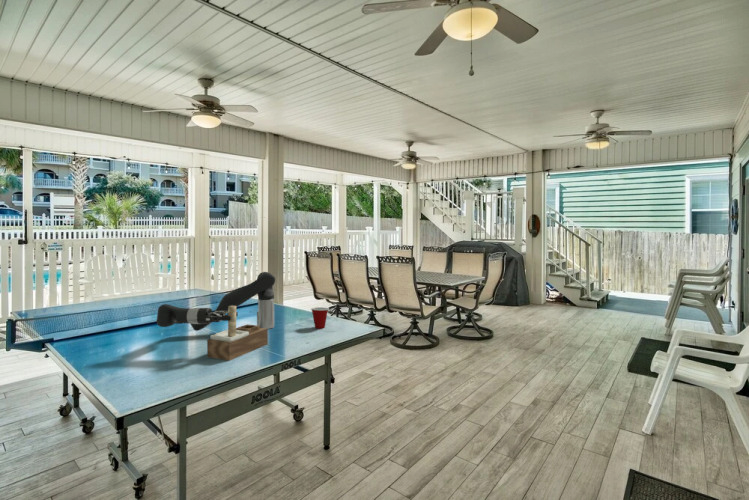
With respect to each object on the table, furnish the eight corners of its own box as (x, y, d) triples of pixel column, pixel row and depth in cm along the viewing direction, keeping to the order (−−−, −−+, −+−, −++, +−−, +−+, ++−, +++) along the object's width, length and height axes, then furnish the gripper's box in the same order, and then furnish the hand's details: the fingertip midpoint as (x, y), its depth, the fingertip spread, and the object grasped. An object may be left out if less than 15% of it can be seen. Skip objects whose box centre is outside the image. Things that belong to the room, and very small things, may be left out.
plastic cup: (332, 326, 235) (332, 306, 235) (322, 330, 225) (322, 310, 225) (317, 324, 240) (317, 305, 239) (307, 328, 230) (307, 308, 229)
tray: (210, 339, 179) (210, 335, 179) (229, 332, 190) (229, 329, 190) (230, 342, 175) (230, 338, 175) (248, 335, 186) (248, 331, 186)
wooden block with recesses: (207, 357, 178) (207, 335, 178) (247, 341, 203) (247, 322, 203) (229, 360, 173) (229, 338, 173) (267, 344, 198) (267, 324, 198)
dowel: (226, 336, 182) (226, 306, 181) (232, 334, 185) (232, 305, 184) (232, 337, 180) (232, 307, 179) (237, 335, 183) (238, 306, 183)
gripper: (207, 320, 190) (240, 320, 189) (192, 327, 176) (227, 328, 175) (206, 305, 189) (239, 305, 189) (191, 311, 175) (227, 311, 175)
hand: (233, 316), depth 182 cm, fingers open, 7 cm apart
